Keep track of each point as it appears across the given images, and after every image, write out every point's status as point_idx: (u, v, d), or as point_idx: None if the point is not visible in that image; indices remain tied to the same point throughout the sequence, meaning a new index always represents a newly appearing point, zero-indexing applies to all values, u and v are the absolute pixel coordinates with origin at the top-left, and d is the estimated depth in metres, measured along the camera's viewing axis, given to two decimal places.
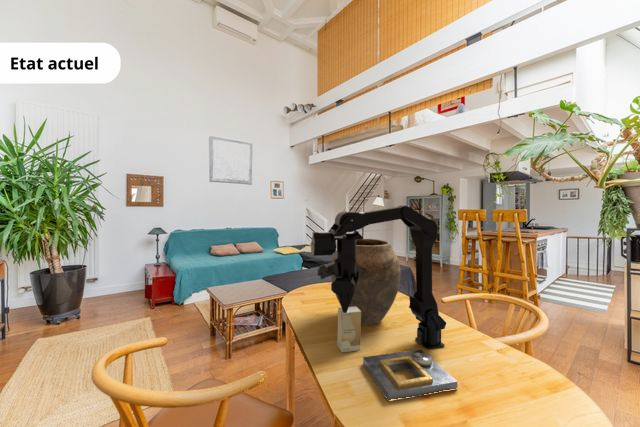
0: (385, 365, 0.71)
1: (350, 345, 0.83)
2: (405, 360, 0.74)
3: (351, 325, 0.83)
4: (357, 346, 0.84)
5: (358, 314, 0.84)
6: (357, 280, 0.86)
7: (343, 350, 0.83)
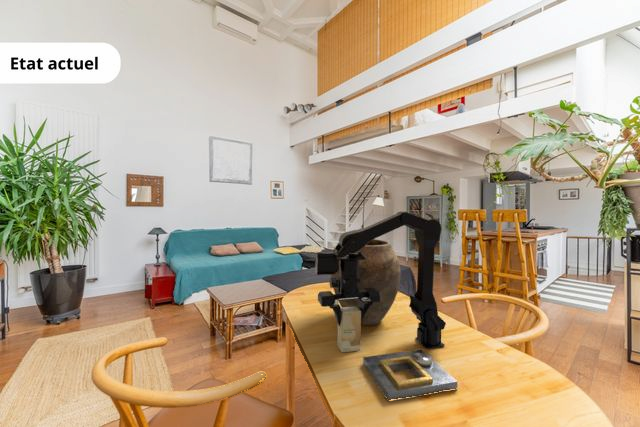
0: (385, 365, 0.71)
1: (350, 345, 0.83)
2: (405, 360, 0.74)
3: (351, 325, 0.83)
4: (357, 346, 0.84)
5: (358, 314, 0.84)
6: (364, 305, 0.83)
7: (343, 350, 0.83)
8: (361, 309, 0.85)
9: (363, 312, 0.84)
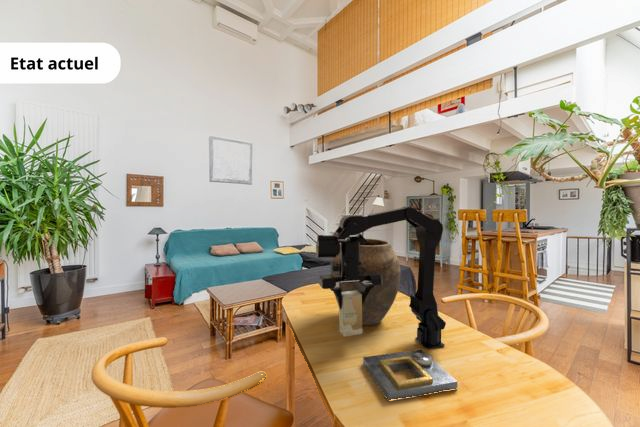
0: (385, 365, 0.71)
1: (352, 329, 0.83)
2: (405, 360, 0.74)
3: (352, 309, 0.83)
4: (359, 329, 0.83)
5: (359, 298, 0.83)
6: (365, 288, 0.82)
7: (345, 334, 0.82)
8: (362, 292, 0.84)
9: (364, 295, 0.83)
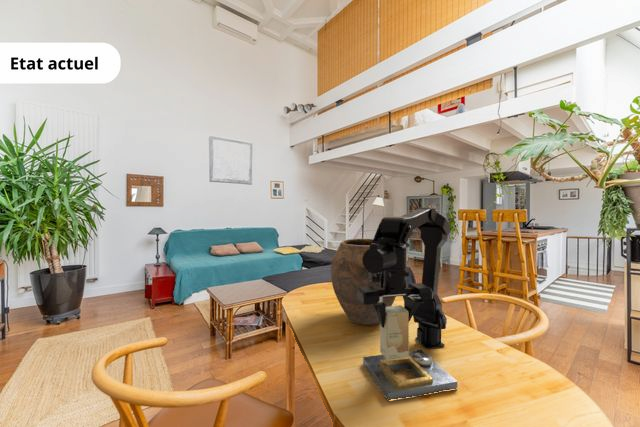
0: (385, 365, 0.71)
1: (397, 352, 0.70)
2: (405, 360, 0.74)
3: (398, 328, 0.70)
4: (405, 352, 0.71)
5: (405, 315, 0.70)
6: (413, 303, 0.70)
7: (389, 357, 0.70)
8: (409, 308, 0.71)
9: (411, 312, 0.71)
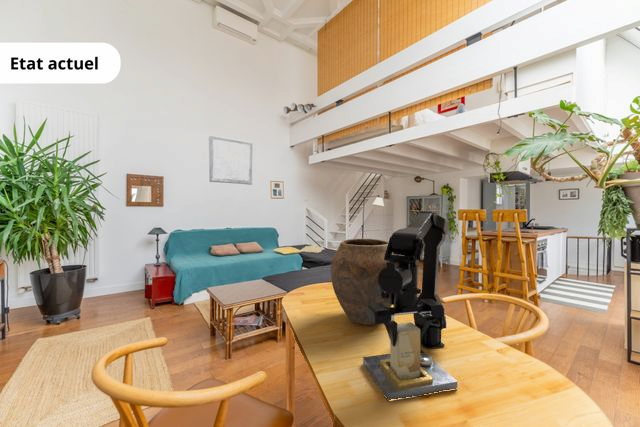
0: (385, 365, 0.71)
1: (409, 372, 0.68)
2: None
3: (409, 347, 0.68)
4: (417, 371, 0.68)
5: (417, 333, 0.68)
6: (425, 321, 0.67)
7: (401, 378, 0.67)
8: (420, 326, 0.69)
9: (423, 330, 0.68)
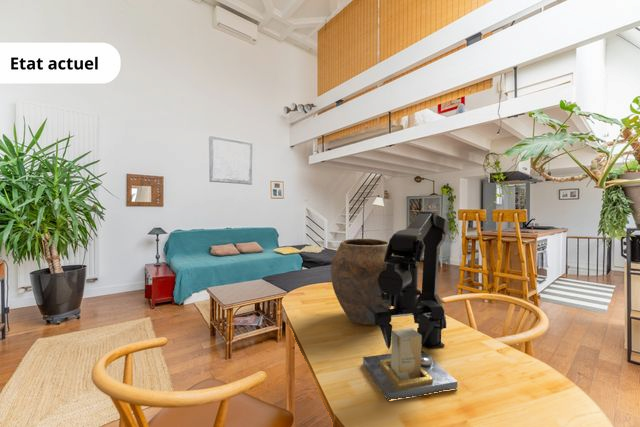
0: (385, 365, 0.71)
1: (409, 378, 0.68)
2: None
3: (410, 353, 0.68)
4: None
5: (418, 339, 0.68)
6: (430, 322, 0.68)
7: None
8: (425, 327, 0.69)
9: (428, 331, 0.69)
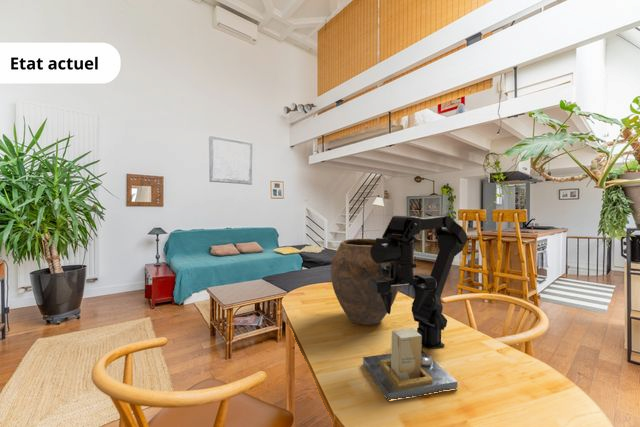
0: (385, 365, 0.71)
1: (409, 378, 0.68)
2: None
3: (410, 353, 0.68)
4: None
5: (418, 339, 0.68)
6: (424, 291, 0.79)
7: None
8: (420, 295, 0.81)
9: (422, 298, 0.80)
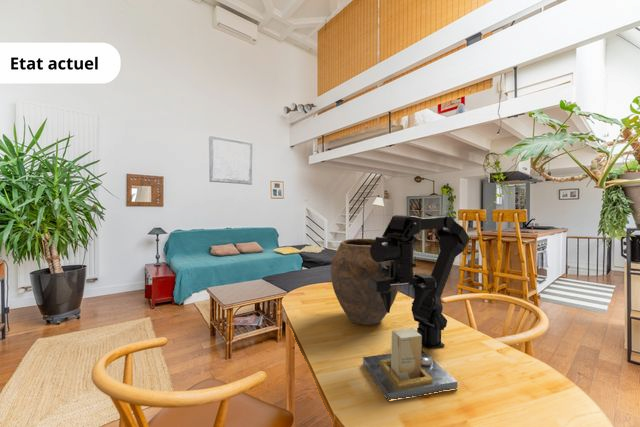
0: (385, 365, 0.71)
1: (409, 378, 0.68)
2: None
3: (410, 353, 0.68)
4: None
5: (418, 339, 0.68)
6: (423, 290, 0.79)
7: None
8: (419, 295, 0.81)
9: (422, 298, 0.80)
